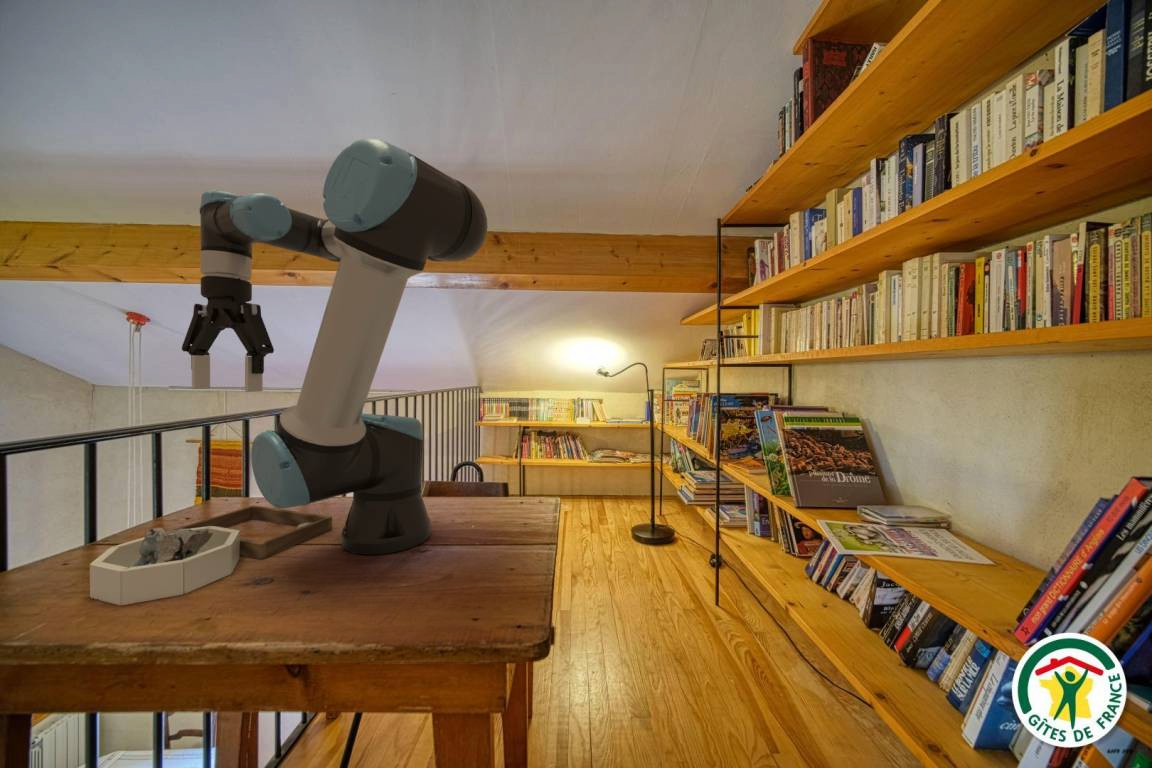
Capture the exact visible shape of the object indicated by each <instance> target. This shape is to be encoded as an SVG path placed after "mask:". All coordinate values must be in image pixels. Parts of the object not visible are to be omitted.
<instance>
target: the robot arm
mask: <svg viewBox="0 0 1152 768" xmlns="http://www.w3.org/2000/svg"><path fill="white" fill-rule="evenodd" d="M322 196H323V199H324V202H323V205H322V206H323V210H324V214H325V216H326V219H324V218H320V217H316V216H313V215H310V214H307V213H305V212H304V213H303V212H301V211H298V210H296V209H293V208H289V207H287V206H286V204H284V202H282V201H281V200H280V199H278V198H277V197H276V196H275V195H272V194H269V193H265V192H254V193H247V194H242V195H239V194H236V193H234V192H233V193H232V192H229V191H225V190H224V191H223V190H206V191H204V192H203V193H202V194H201V199H200V207H199V209H198V211H199V215H200V266H199V267H200V268H199V269H200V273H201V274H202V275H203V276H201V278H200V295H201V297H203V298H205V299H206V300H207V304H203V303H202V304H201V303H195V304H194V305H193V311H192V312H193V313H192V314H193V315H192V316H191V317H192V318H191V321H190V323H189V326H188V329H187V332H186V335H185V337H184V339H183V340H184V341H183V343H182V345H181V350H182V352H186V353H188V355H190V357H191V358H190V361H191V362H190V365H191V367H190V368H191V369H190V370H191V390H207V389H209V390H210V389H211V354H210V352H209V351H210V349H211V347H212V346H213V344H214V343H215V341H216V339H217V338H218V336H219V334H220V333H221V332H222V331H224V330H225V329H231V330H233V332H234V334H236V336H237V337H238V339H239V340H240V342H241V344H242V346H243V348H244V349H245V350H246V353H245V356H244V392H245V393H246V392H247V393H253V392H255V393H256V392H263V374H264V372H265V366H264V365H265V357H266V356H267V355H269V354H273V353H274V352H275V349H274V345H273V343H272V341H271V338H270V335H269V333H268V330H267V327H266V325H265V322H264V320H263V317H262V308H261V305H260V304H256V303H249V302H251V301H252V300H253V299H252V298H253V295H252V294H253V285H252V283H251V282H250V281H251V280H252V273H253V272H252V260H253V254H252V253H253V245H254V244H264V245H268V246H272V247H276V248H279V249H280V248H281V249H282V250H283V249H284V250H288V251H292V252H297V253H301V254H305V255H309V256H314V257H317V258H322V259H325V260H327V261H330V262H336V263H338V266H337V269H336V273H335V276H334V278H333V279H334V280H333V283H332V286H331V290H330V291H329V296H328V299H327V302H326V306H325V309H324V312H323V313H324V314H323V316H322V318H321V319H322V320H321V322H320V327H319V328H318V329H319V330H318V333H317V336H316V340H315V343H314V346H313V349H312V352H311V357H310V358H309V363H308V366H307V369H306V373H305V376H304V379H303V383H302V386H301V390H300V393H299V396H298V399H297V403H296V404H295V405H292V406H289V407H288V408H286V409H284V411H282V413H281V415H280V418H279V419H278V423H277V426H276V427H277V428H276V429H275V430H272V429H271V430H269V429H268V430H266V431H262V432H260V433H259V434H257V435H256V436H255V438H254V439H253V442H252V445H251V451H250V452H251V453H250V457H251V458H250V459H251V467H252V473H253V476H254V479H255V482H256V485H257V488H258V489H259V492H260V494H261V495H262V496H263V498H264V499H265V500H266V501H267V503H269V504H270V505H271V506H273V507H275V508H277V509H288V508H296V507H300V506H307V505H308V506H309V504H312V503H316V502H321V501H325V500H328V499H332V498H336V497H340V496H344V495H348V494H353V495H352V503H351V506H350V509H349V511H348V513H347V516H346V521H345V525H343V529H342V531H341V547H342V548H343V549H344V550H345V551H347V552H350V553H353V554H358V555H384V554H391V553H392V554H393V553H397V552H402V551H405V550H409V549H411V548H413V547H417V546H418V545H421V544H422V543H424V542H425V541H427V539H429V537H430V536H431V519H430V517H429V515H428V512H427V508H426V505H425V501H424V498H423V495H422V481H423V478H422V474H423V473H422V467H423V443H424V438H423V426H422V423H421V421H420V420H419V419H418V418H415V417H412V416H411V417H410V416H409V417H408V416H400V415H390V414H389V415H387V414H376V413H375V414H373V413H363V410H364V407H365V404H366V402H367V398H368V395H369V393H370V390H371V387H372V383H373V381H374V378H375V375H376V373H377V369H378V367H379V363H380V360H381V358H382V355H383V353H384V349H385V346H386V344H387V340H388V337H389V334H390V332H391V330H392V327H393V323H394V320H395V317H396V315H397V312H398V309H399V306H400V303H401V301H402V298H403V295H404V292H405V288H406V286H407V283H408V280H409V279H410V278H411V277H414V276H416V275H419V274H421V273H423V272H424V269H425V267H426V263H427V261H431V262H440V263H441V262H452V263H453V262H458V263H459V262H461V261H466V260H467V259H470V258H472V257H474V256H475V255H476V254H477V253H478V252H479V251H480V249H482V247H483V245H484V243H485V241H486V238H487V236H488V235H487V234H488V216H487V214H486V211H485V207H484V205H483V203H482V201H481V199H480V198H479V197H478V195H477V194H476V193H475V191H474V190H472V188H470V187H468V185H466V184H464V183H463V182H461V181H460V180H457V179H456V178H452V176H449V175H447V174H446V173H444V172H442V170H439V169H438V168H436V167H434V166H432V165H430V164H429V163H428V162H426V161H424V160H423V159H421V158H419V157H417V156H415V155H414V154H412V153H410V152H408V151H407V150H406V149H403V148H400V147H398V146H396V145H394V144H391V143H390V142H387V141H384V140H382V139H379V138H374V137H365V138H361V139H358V140H355V141H354V142H352V143H351V144H350V145H349V146H346V147H345V148H344V149H342V151H341V152H340V153H339V154H338V156H336V158H335V159H334V160H333V163H332V164H331V166H330V167H329V170H328V172H327V175H326V177H325V180H324V185H323V190H322Z"/></svg>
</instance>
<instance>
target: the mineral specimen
mask: <svg viewBox="0 0 1152 768" xmlns="http://www.w3.org/2000/svg"><path fill="white" fill-rule="evenodd" d="M208 530H209V529H201V530H196V531H192V530H191V529H186V530H174V529H173V530H165V529H164V528H163V527H157V526H156V527H153V528H151V529H148V530H147V531H145V532H144V534H145V535H144V536H143V538H145V539H144V540H143V542H142V543H141V547H140V549H139V554H141V557H140V559H139V560H137V561H136V562H134V563H132V564H131V565H130V566H129V567H128V568H130V567H137V566H144V565H150V564H157V563H164V562H170V561H177V560H183V559H186V558H188V557H191V556H194V555H196V554H197V552H198V551H199V549H200V548H201V547H202V546H203V545H204V544H205V543H207V542H208V541H209V540H210V538H211V536H212V535H213V533H211V532H208Z"/></svg>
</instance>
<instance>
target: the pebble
mask: <svg viewBox="0 0 1152 768" xmlns="http://www.w3.org/2000/svg"><path fill="white" fill-rule="evenodd" d="M310 523H313V522H309V523H303V524H300V525H298V526H296V529H297V528H300V527H302V526H305V525H308V524H310Z"/></svg>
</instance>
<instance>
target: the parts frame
mask: <svg viewBox="0 0 1152 768" xmlns="http://www.w3.org/2000/svg"><path fill="white" fill-rule="evenodd" d="M251 520H257V521H264V522H269V523H276V524H284V525H288V526H295V527H296V528H295V529H293V530H290V531H287V532H285V533H282V534H280V535H277V536H274V537H272V538H269V539H267V540H265V541H258V540H253V539H252V540H251V539H246V538H243V537H242V538H241V537H240V555H242V556H241V557H244V556H246V558H251V559H255V560H265V559H266V558H269V557H271V556H273V555H276V554H278V553H280V552H282V551H285V550H287V549H290V548H291V547H295V546H296V545H299V544H301V543H303V541H304V542H305V541H306V542H307V541H308V540H311V539H313V538H315V537H317V536H320V535H322V534H325V533H327V532H330V531H331V530H333V516H330V515H329V516H328V515H322V514H315V513H309V512H301V511H295V510H290V509H289V510H288V509H283V508H276V507H275V508H274V507H269V506H267V507H266V506H260V505H254V504H253V505H250V506H247V507H244V508H240V509H237V510H234V511H230V512H226V513H224V514H219V515H216V516H213V517H210V518H207V519H203V520H199V521H195V522H192V523H190V524H186V525H183V526H180V527H176V528H174V529H173V530H182V529H191V528H199V527H207V526H216V527H222V528H229V527H233V526H235V525H239V524H241V523H244V522H247V521H251ZM309 522H313V523H310V524H308V525H305V526H302V527H300V528H297V526H298V525H300V524H303V523H309Z"/></svg>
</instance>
